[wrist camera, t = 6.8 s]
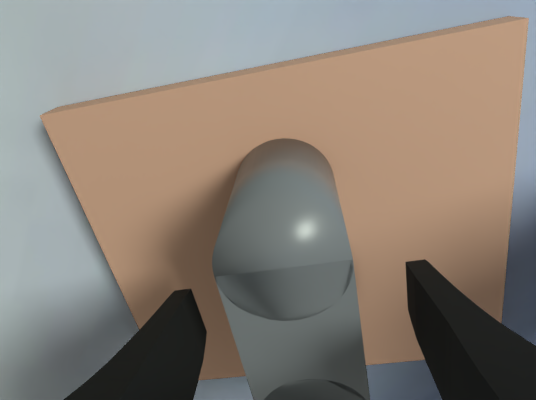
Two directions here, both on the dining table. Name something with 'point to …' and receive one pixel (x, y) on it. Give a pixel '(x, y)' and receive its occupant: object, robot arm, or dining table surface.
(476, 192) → the mat
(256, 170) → the plug
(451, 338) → the robot arm
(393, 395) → the dining table surface
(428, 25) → the dining table surface
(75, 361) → the dining table surface
